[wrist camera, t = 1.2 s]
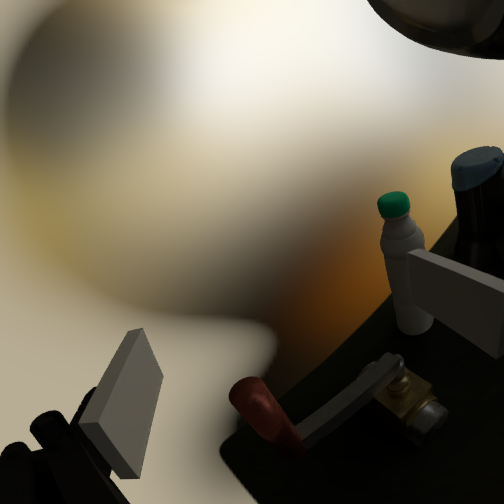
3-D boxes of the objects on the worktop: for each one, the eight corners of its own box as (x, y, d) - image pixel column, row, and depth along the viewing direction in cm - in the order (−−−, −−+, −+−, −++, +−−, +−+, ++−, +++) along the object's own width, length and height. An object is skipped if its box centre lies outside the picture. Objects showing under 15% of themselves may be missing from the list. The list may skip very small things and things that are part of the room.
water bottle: (441, 319, 48) (424, 189, 38) (415, 343, 46) (392, 212, 36) (415, 304, 54) (390, 183, 44) (390, 326, 53) (358, 203, 43)
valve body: (358, 402, 43) (345, 364, 39) (385, 377, 44) (376, 337, 40) (419, 453, 30) (419, 422, 26) (448, 422, 32) (453, 385, 28)
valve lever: (394, 363, 35) (376, 278, 29) (411, 375, 32) (399, 288, 26) (279, 453, 31) (223, 390, 25) (293, 471, 28) (237, 413, 22)
